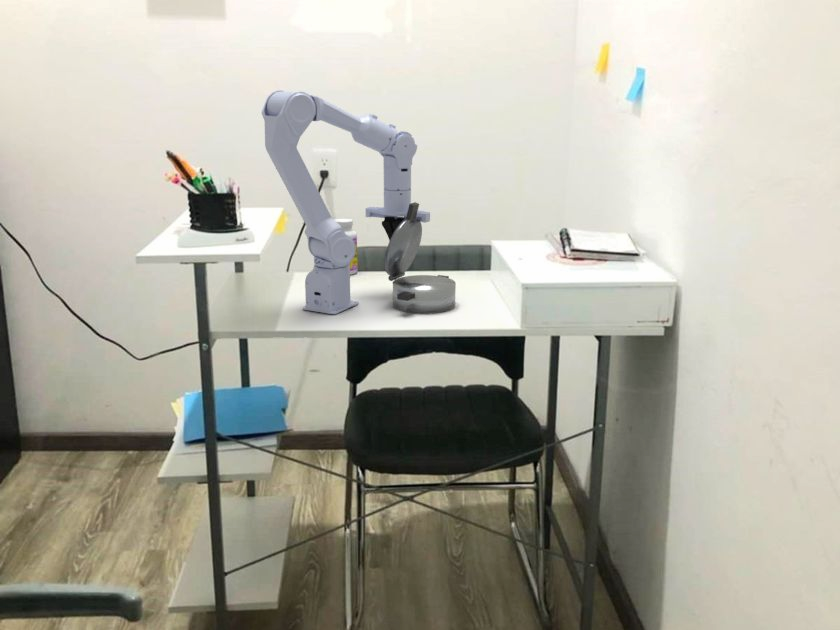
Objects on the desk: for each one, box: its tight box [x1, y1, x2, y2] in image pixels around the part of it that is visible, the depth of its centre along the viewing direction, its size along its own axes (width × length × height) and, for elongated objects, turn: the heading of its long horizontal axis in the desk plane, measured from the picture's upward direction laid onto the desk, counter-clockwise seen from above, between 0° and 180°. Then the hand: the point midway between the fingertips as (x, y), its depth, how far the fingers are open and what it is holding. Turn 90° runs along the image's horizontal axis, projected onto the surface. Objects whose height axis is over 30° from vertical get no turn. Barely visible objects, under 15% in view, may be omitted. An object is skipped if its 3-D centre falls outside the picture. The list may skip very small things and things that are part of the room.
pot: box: [392, 274, 456, 315], centre depth 169 cm, size 19×13×5 cm
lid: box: [384, 201, 423, 282], centre depth 168 cm, size 13×17×1 cm
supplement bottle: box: [334, 218, 358, 276], centre depth 194 cm, size 7×7×13 cm
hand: (397, 252), depth 174 cm, fingers closed
